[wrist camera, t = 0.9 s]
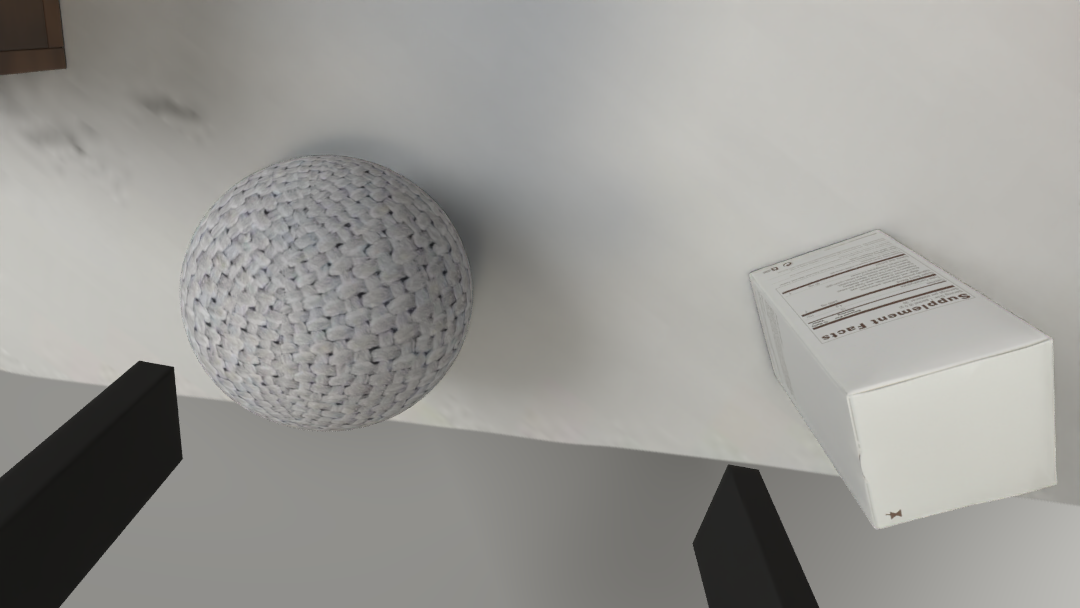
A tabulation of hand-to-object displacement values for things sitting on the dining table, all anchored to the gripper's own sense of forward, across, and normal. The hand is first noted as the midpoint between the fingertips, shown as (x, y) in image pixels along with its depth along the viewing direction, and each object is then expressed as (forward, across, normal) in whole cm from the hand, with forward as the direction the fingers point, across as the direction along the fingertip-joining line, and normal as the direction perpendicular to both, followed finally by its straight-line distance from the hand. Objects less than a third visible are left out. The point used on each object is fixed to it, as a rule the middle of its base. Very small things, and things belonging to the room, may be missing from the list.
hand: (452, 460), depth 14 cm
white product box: (+26, +22, -4) cm, 35 cm away
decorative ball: (+26, -9, -6) cm, 28 cm away
